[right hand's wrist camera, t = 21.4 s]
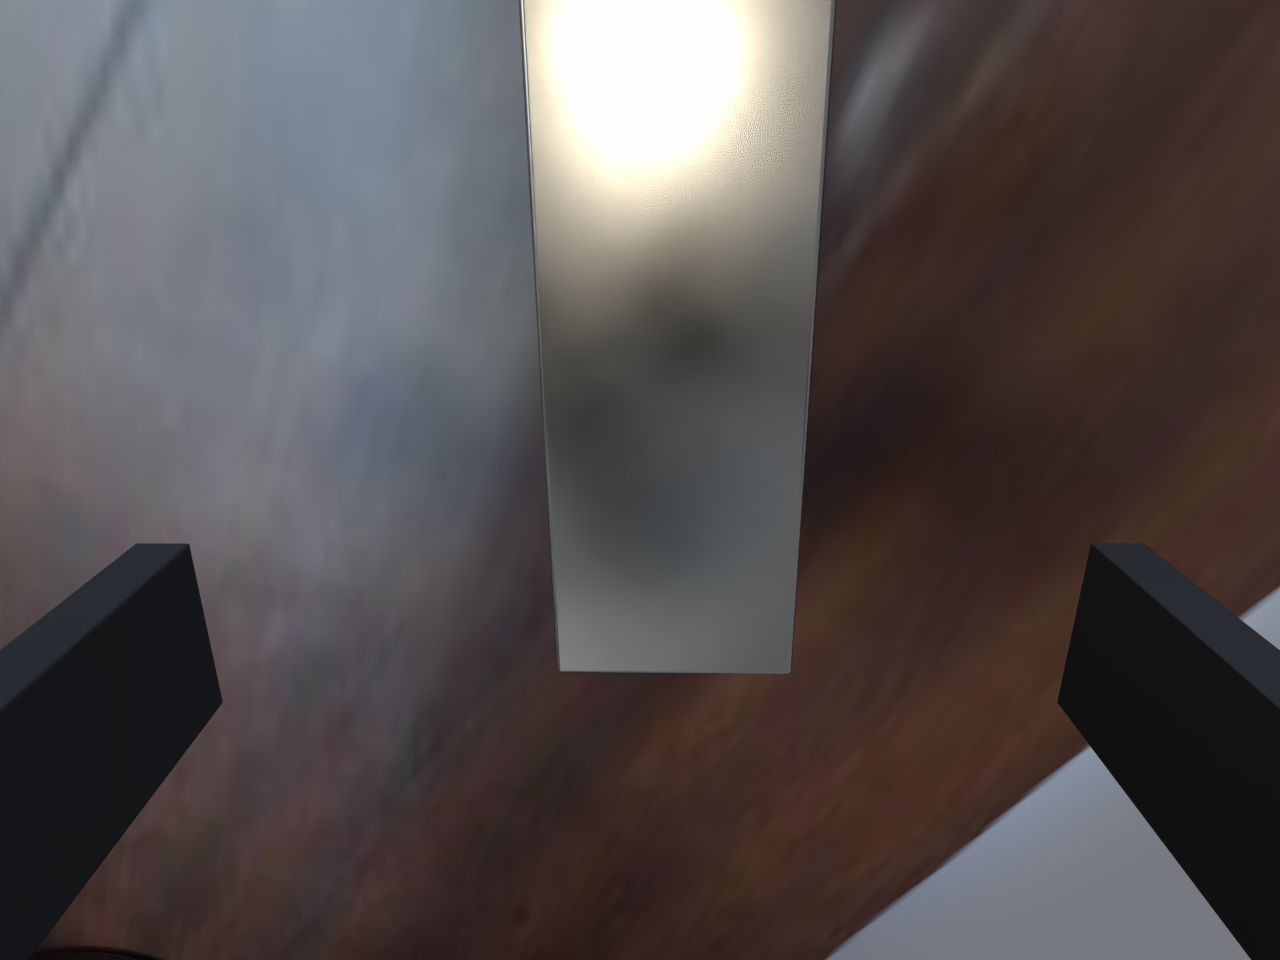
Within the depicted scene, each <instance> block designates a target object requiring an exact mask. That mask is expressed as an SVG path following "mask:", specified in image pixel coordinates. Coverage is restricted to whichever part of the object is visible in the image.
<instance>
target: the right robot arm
mask: <svg viewBox="0 0 1280 960" xmlns="http://www.w3.org/2000/svg"><path fill="white" fill-rule="evenodd" d="M221 704H222V697H221V692H220V688H219V683H218V678H217V674H216V669H215V664H214V659H213V655H212V650H211V645H210V641H209V636H208V631H207V626H206V622H205V617H204V612H203V608H202V603H201V598H200V593H199V589H198V584H197V579H196V574H195V570H194V565H193V560H192V556H191V551H190V546H189V544H135V545H134V546H133V547H131V548H130V549H129V550H128V551H126V552H125V553H124V554H123V555H121V556H120V557H119V558H117V559H116V560H115V561H114V562H112V563H111V564H110V565H109V566H107V567H106V568H105V569H103V570H102V571H101V572H100V573H98V574H97V575H96V576H94V577H93V578H92V579H91V580H89V581H88V582H87V583H86V584H84V585H83V586H82V587H80V588H79V589H78V590H77V591H75V592H74V593H73V594H72V595H70V596H69V597H68V598H66V599H65V600H64V601H63V602H61V603H60V604H59V605H58V606H56V607H55V608H54V609H52V610H51V611H50V612H49V613H47V614H46V615H45V616H44V617H42V618H41V619H40V620H38V621H37V622H36V623H35V624H33V625H32V626H31V627H30V628H28V629H27V630H26V631H24V632H23V633H22V634H21V635H19V636H18V637H17V638H16V639H14V640H13V641H12V642H10V643H9V644H8V645H7V646H5V647H4V648H3V649H1V650H0V960H140V959H135V958H131V957H126V956H120V955H114V954H108V953H97V952H82V951H64V952H48V953H41V954H33V953H34V952H35V951H36V949H37V948H38V947H39V945H40V944H41V943H42V941H43V940H44V939H45V937H46V936H47V935H48V933H49V932H50V931H51V929H52V928H53V927H54V925H55V924H56V923H57V921H58V920H59V919H60V918H61V916H62V915H63V914H64V912H65V911H66V910H67V908H68V907H69V906H70V904H71V903H72V902H73V900H74V899H75V898H76V896H77V895H78V894H79V892H80V891H81V890H82V888H83V887H84V886H85V884H86V883H87V882H88V880H89V879H90V878H91V876H92V875H93V874H94V872H95V871H96V870H97V868H98V867H99V866H100V864H101V863H102V862H103V860H104V859H105V858H106V856H107V855H108V854H109V852H110V851H111V850H112V848H113V847H114V846H115V845H116V843H117V842H118V841H119V839H120V838H121V837H122V835H123V834H124V833H125V831H126V830H127V829H128V827H129V826H130V825H131V823H132V822H133V821H134V819H135V818H136V817H137V815H138V814H139V813H140V811H141V810H142V809H143V807H144V806H145V805H146V803H147V802H148V801H149V799H150V798H151V797H152V795H153V794H154V793H155V791H156V790H157V789H158V787H159V786H160V785H161V783H162V782H163V781H164V779H165V778H166V777H167V775H168V774H169V773H170V772H171V770H172V769H173V768H174V766H175V765H176V764H177V762H178V761H179V760H180V758H181V757H182V756H183V754H184V753H185V752H186V750H187V749H188V748H189V746H190V745H191V744H192V742H193V741H194V740H195V738H196V737H197V736H198V734H199V733H200V732H201V730H202V729H203V728H204V726H205V725H206V724H207V722H208V721H209V720H210V718H211V717H212V716H213V714H214V713H215V712H216V710H217V709H218V708H219V706H220V705H221ZM1058 704H1059V705H1060V706H1061V708H1062V709H1063V710H1064V712H1065V713H1066V714H1067V716H1068V717H1069V718H1070V720H1071V721H1072V722H1073V724H1074V725H1075V726H1076V728H1077V729H1078V730H1079V732H1080V733H1081V734H1082V736H1083V737H1084V738H1085V740H1086V741H1087V742H1088V744H1089V745H1090V746H1091V748H1092V749H1093V750H1094V752H1095V753H1096V754H1097V756H1098V757H1099V758H1100V759H1101V761H1102V762H1103V764H1104V765H1105V766H1106V767H1107V769H1108V770H1109V771H1110V773H1111V774H1112V775H1113V777H1114V778H1115V779H1116V781H1117V782H1118V783H1119V785H1120V786H1121V787H1122V789H1123V790H1124V791H1125V793H1126V794H1127V795H1128V797H1129V798H1130V799H1131V801H1132V802H1133V803H1134V805H1135V806H1136V807H1137V809H1138V810H1139V811H1140V813H1141V814H1142V815H1143V817H1144V818H1145V819H1146V821H1147V822H1148V823H1149V825H1150V826H1151V827H1152V829H1153V830H1154V831H1155V833H1156V834H1157V835H1158V837H1159V838H1160V839H1161V841H1162V842H1163V843H1164V845H1165V846H1166V847H1167V848H1168V850H1169V851H1170V852H1171V854H1172V855H1173V856H1174V858H1175V859H1176V860H1177V862H1178V863H1179V864H1180V866H1181V867H1182V868H1183V870H1184V871H1185V872H1186V874H1187V875H1188V876H1189V878H1190V879H1191V880H1192V882H1193V883H1194V884H1195V886H1196V887H1197V888H1198V890H1199V891H1200V892H1201V894H1202V895H1203V896H1204V898H1205V899H1206V900H1207V902H1208V903H1209V904H1210V906H1211V907H1212V908H1213V910H1214V911H1215V912H1216V914H1217V915H1218V916H1219V918H1220V919H1221V920H1222V921H1223V923H1224V924H1225V925H1226V927H1227V928H1228V929H1229V931H1230V932H1231V933H1232V935H1233V936H1234V937H1235V939H1236V940H1237V941H1238V943H1239V944H1240V945H1241V947H1242V948H1243V949H1244V951H1245V952H1246V953H1247V955H1248V956H1249V957H1250V959H1251V960H1280V650H1279V649H1277V648H1276V647H1275V646H1273V645H1272V644H1271V643H1270V642H1268V641H1267V640H1266V639H1264V638H1263V637H1262V636H1261V635H1259V634H1258V633H1257V632H1256V631H1254V630H1253V629H1252V628H1250V627H1249V626H1248V625H1247V624H1245V623H1244V622H1243V621H1242V620H1240V619H1239V618H1238V617H1236V616H1235V615H1234V614H1233V613H1231V612H1230V611H1229V610H1228V609H1226V608H1225V607H1224V606H1222V605H1221V604H1220V603H1219V602H1217V601H1216V600H1215V599H1214V598H1212V597H1211V596H1210V595H1208V594H1207V593H1206V592H1205V591H1203V590H1202V589H1201V588H1200V587H1198V586H1197V585H1196V584H1194V583H1193V582H1192V581H1191V580H1189V579H1188V578H1187V577H1186V576H1184V575H1183V574H1182V573H1180V572H1179V571H1178V570H1177V569H1175V568H1174V567H1173V566H1171V565H1170V564H1169V563H1168V562H1166V561H1165V560H1164V559H1163V558H1161V557H1160V556H1159V555H1157V554H1156V553H1155V552H1154V551H1152V550H1151V549H1150V548H1149V547H1147V546H1146V545H1145V544H1091V546H1090V551H1089V556H1088V560H1087V565H1086V570H1085V574H1084V579H1083V584H1082V589H1081V593H1080V598H1079V603H1078V607H1077V612H1076V617H1075V622H1074V626H1073V631H1072V636H1071V641H1070V645H1069V650H1068V655H1067V659H1066V664H1065V669H1064V674H1063V678H1062V683H1061V688H1060V692H1059V697H1058Z"/></svg>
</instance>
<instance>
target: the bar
mask: <svg viewBox="0 0 1280 960" xmlns="http://www.w3.org/2000/svg"><path fill="white" fill-rule="evenodd" d="M836 2H837V0H519V14H520V32H521V49H522V67H523V85H524V102H525V120H526V137H527V155H528V173H529V190H530V208H531V226H532V243H533V261H534V279H535V296H536V314H537V331H538V349H539V367H540V384H541V402H542V420H543V437H544V455H545V473H546V490H547V508H548V525H549V543H550V561H551V578H552V596H553V614H554V631H555V649H556V667H557V670H558V672H561V673H678V674H789V673H790V671H791V668H792V653H793V639H794V624H795V609H796V594H797V579H798V564H799V550H800V535H801V520H802V505H803V490H804V476H805V461H806V446H807V431H808V416H809V402H810V387H811V372H812V357H813V342H814V328H815V313H816V298H817V283H818V268H819V254H820V239H821V224H822V209H823V194H824V180H825V165H826V150H827V135H828V120H829V105H830V91H831V76H832V61H833V46H834V31H835V17H836Z"/></svg>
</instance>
